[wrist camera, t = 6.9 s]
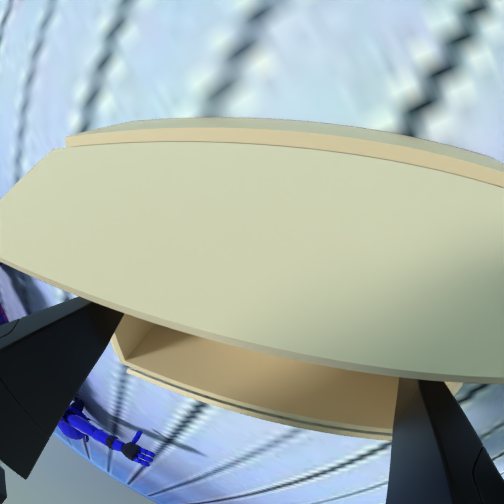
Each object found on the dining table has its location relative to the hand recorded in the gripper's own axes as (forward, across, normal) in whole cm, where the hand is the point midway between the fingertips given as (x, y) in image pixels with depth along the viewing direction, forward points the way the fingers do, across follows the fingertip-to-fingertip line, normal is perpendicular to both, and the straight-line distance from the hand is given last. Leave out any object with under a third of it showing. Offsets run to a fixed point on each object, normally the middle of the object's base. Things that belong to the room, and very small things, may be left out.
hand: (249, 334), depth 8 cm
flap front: (+1, 0, -4) cm, 4 cm away
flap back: (+1, 0, +8) cm, 8 cm away
